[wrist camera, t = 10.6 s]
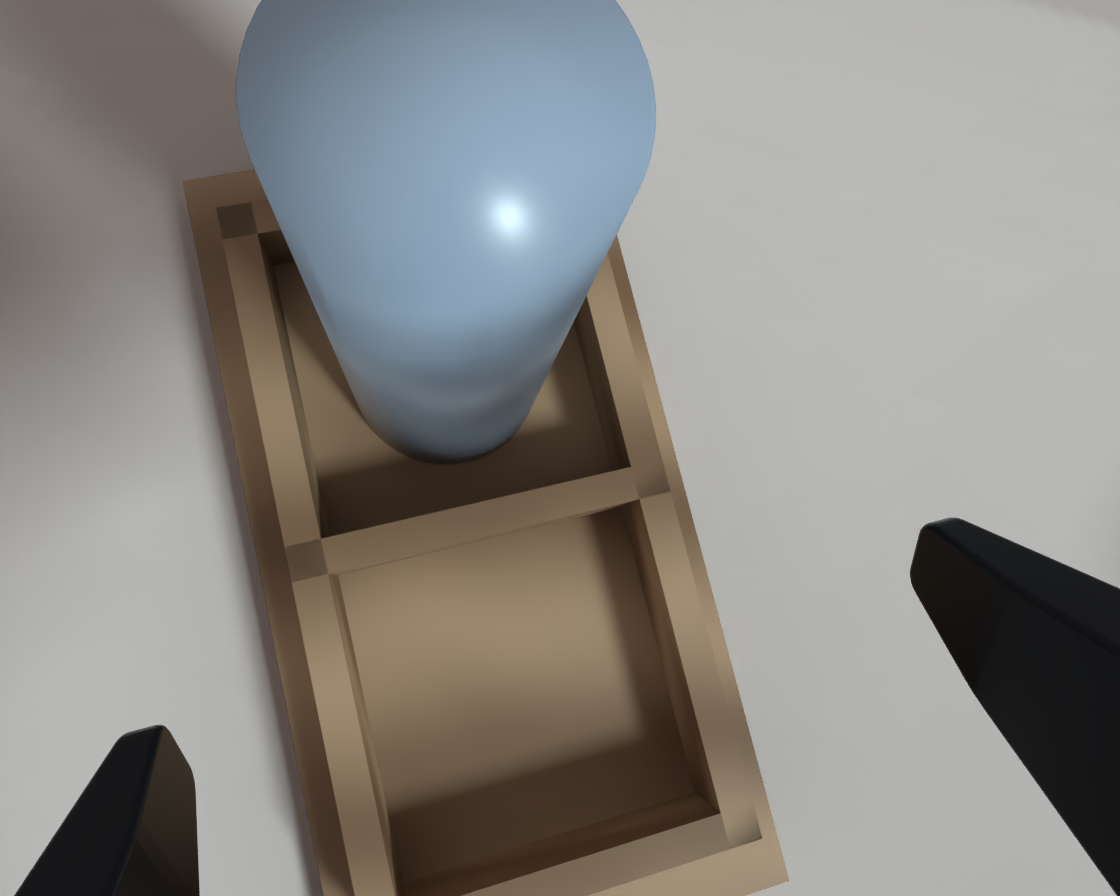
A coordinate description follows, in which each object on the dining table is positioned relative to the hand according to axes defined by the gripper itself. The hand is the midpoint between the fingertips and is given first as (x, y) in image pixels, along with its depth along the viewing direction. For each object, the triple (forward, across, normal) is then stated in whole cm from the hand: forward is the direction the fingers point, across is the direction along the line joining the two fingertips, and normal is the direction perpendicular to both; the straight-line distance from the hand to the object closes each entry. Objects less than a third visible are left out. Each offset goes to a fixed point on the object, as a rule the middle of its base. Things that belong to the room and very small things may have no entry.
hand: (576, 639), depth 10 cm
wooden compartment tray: (+11, 0, +7) cm, 13 cm away
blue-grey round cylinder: (+13, 0, +4) cm, 13 cm away
